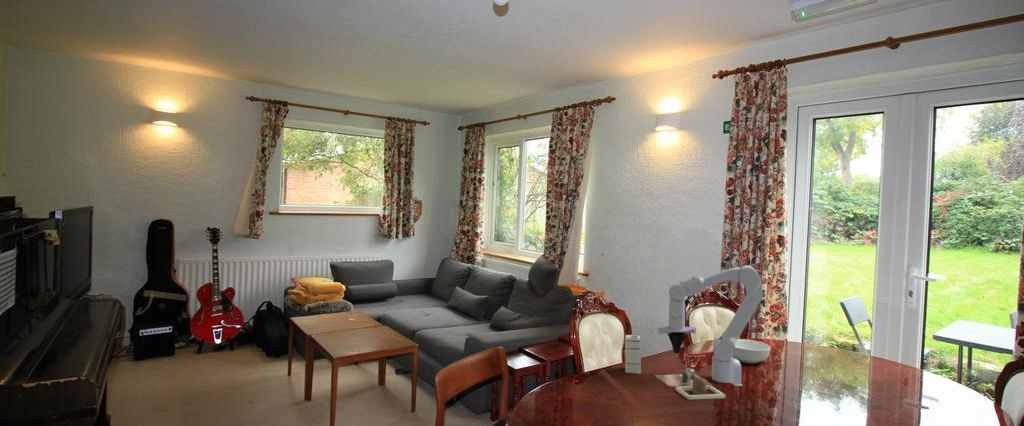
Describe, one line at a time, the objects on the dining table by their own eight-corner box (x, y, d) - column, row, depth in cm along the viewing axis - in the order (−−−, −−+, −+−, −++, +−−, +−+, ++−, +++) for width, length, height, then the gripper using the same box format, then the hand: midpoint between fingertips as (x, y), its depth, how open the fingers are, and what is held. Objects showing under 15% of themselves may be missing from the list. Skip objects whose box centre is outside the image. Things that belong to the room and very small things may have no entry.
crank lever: (686, 374, 184) (686, 363, 184) (695, 375, 183) (695, 364, 183) (679, 384, 173) (679, 372, 173) (689, 386, 171) (689, 374, 171)
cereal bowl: (717, 357, 214) (717, 341, 214) (744, 353, 221) (744, 337, 221) (751, 369, 198) (751, 351, 198) (779, 364, 205) (779, 347, 205)
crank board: (694, 377, 187) (694, 372, 187) (712, 389, 175) (712, 383, 175) (654, 379, 184) (654, 374, 184) (669, 390, 172) (669, 385, 172)
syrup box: (641, 377, 186) (641, 338, 186) (624, 376, 187) (625, 337, 187) (640, 372, 191) (640, 335, 191) (624, 371, 193) (625, 334, 193)
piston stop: (702, 393, 169) (702, 377, 169) (709, 398, 164) (709, 381, 164) (690, 394, 168) (690, 378, 168) (696, 399, 164) (696, 382, 164)
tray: (710, 392, 171) (710, 385, 171) (725, 402, 163) (725, 394, 163) (675, 394, 169) (675, 386, 169) (688, 404, 161) (688, 396, 161)
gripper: (663, 318, 181) (663, 356, 181) (700, 318, 184) (699, 354, 184) (655, 314, 188) (654, 350, 188) (690, 314, 191) (690, 349, 191)
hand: (676, 352), depth 187 cm, fingers closed
